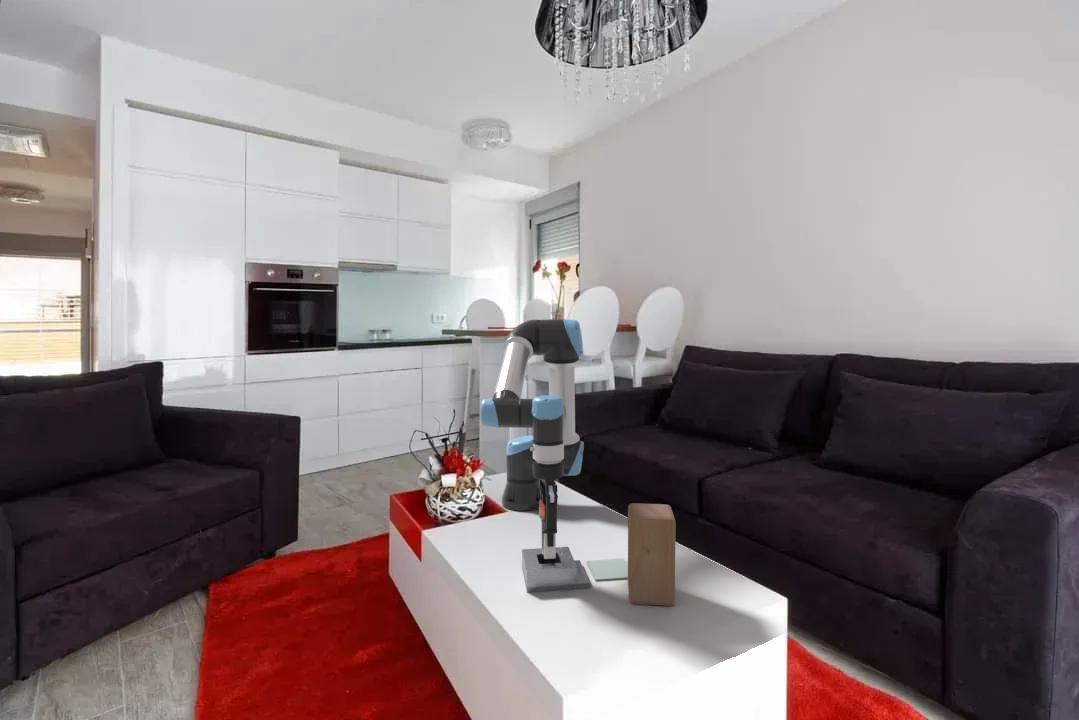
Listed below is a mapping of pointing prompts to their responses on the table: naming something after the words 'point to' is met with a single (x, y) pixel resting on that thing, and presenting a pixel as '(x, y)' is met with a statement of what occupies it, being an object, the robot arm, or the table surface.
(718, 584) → the table surface
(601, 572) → the mat
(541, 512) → the red capped rod
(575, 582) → the grey hollow block
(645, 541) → the wooden block
